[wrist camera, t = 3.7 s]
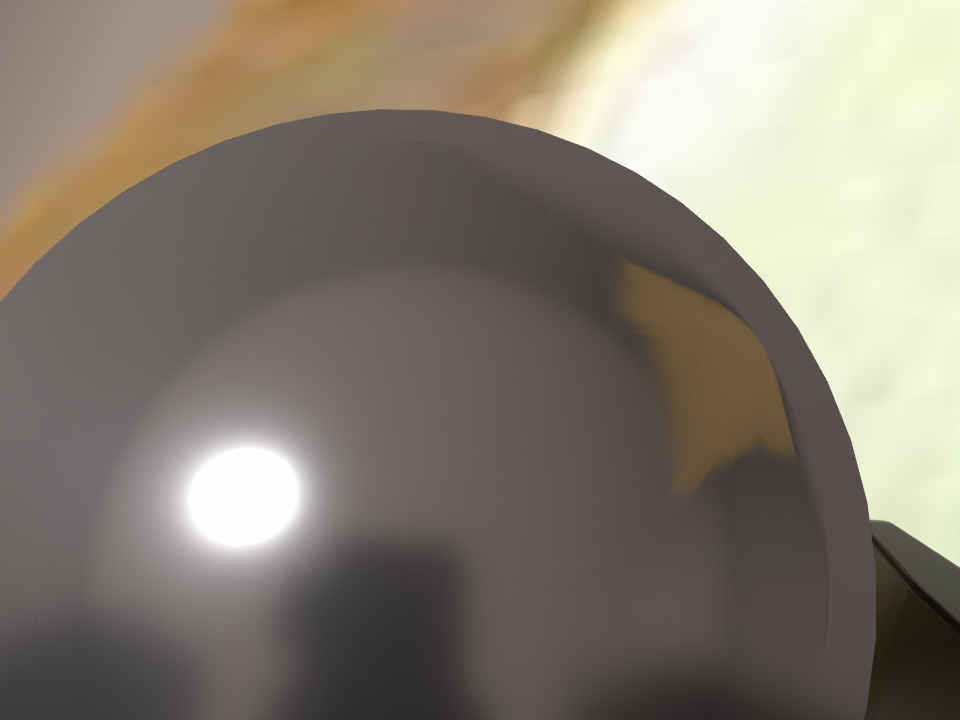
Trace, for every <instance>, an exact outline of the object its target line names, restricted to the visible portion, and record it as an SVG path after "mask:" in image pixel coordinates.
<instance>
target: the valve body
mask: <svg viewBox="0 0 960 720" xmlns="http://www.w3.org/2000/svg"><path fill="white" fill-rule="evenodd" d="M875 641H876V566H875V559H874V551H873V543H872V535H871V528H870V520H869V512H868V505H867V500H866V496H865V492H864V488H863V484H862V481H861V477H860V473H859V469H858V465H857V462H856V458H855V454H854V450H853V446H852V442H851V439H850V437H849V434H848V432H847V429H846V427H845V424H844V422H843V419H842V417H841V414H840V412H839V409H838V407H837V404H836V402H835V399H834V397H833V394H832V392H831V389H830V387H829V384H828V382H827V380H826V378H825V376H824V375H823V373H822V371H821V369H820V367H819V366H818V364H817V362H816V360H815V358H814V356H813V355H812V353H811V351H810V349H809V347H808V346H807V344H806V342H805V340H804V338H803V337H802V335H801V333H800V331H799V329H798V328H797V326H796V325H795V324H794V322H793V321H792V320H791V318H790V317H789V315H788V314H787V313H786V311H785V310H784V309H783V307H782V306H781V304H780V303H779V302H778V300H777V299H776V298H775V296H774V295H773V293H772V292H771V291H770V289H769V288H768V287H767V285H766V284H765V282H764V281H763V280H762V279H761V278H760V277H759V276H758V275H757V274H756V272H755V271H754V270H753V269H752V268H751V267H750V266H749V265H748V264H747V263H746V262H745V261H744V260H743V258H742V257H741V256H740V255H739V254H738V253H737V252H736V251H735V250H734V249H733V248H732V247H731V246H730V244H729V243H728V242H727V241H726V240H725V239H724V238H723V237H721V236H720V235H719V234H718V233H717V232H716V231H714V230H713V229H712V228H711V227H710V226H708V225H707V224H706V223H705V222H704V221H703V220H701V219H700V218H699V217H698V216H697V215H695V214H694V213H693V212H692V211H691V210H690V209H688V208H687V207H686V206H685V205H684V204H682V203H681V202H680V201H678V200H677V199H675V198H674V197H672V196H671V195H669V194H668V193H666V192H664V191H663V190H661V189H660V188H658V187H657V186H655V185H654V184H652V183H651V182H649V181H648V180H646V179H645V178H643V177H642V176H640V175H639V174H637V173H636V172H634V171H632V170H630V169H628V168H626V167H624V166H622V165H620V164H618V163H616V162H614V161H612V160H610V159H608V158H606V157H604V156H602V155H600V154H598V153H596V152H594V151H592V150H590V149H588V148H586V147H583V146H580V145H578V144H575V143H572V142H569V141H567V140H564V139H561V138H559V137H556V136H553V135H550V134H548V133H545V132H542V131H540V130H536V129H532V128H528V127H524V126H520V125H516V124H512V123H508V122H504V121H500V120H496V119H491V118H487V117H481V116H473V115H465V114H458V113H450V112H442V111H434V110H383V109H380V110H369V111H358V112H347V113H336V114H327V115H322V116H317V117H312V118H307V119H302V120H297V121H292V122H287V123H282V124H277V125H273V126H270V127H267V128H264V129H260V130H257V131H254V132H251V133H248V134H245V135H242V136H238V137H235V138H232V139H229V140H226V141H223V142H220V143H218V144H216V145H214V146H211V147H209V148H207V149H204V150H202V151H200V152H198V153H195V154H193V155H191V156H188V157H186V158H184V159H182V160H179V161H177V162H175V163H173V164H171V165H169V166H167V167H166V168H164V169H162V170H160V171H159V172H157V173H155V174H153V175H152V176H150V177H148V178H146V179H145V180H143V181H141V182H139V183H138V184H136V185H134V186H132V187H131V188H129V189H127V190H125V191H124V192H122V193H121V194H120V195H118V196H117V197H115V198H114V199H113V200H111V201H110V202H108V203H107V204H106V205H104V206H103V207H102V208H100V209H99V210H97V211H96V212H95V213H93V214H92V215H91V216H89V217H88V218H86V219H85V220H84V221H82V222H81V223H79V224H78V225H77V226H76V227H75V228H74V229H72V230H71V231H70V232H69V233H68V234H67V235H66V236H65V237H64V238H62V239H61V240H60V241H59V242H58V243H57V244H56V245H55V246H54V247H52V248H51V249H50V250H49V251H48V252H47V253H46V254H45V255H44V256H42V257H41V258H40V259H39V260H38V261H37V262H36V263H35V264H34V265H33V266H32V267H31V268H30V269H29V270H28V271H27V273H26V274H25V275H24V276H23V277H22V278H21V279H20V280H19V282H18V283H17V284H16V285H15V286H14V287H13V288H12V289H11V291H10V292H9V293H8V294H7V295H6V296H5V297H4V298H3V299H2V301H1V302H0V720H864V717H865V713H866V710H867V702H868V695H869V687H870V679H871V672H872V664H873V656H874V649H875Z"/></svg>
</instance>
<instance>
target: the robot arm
mask: <svg viewBox="0 0 960 720" xmlns="http://www.w3.org/2000/svg"><path fill="white" fill-rule="evenodd" d="M870 528H871V535H872V543H873V551H874V559H875V566H876V641H875V649H874V656H873V664H872V672H871V679H870V687H869V695H868V702H867V710H866V713H865V717H864V720H960V567H958V566H957V565H955V564H954V563H952V562H950V561H949V560H947V559H946V558H944V557H943V556H941V555H940V554H938V553H937V552H935V551H934V550H932V549H931V548H929V547H928V546H926V545H924V544H923V543H921V542H920V541H918V540H917V539H915V538H914V537H912V536H911V535H909V534H908V533H906V532H905V531H903V530H901V529H900V528H898V527H897V526H895V525H894V524H892V523H890V522H887V521H882V520H870Z"/></svg>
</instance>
